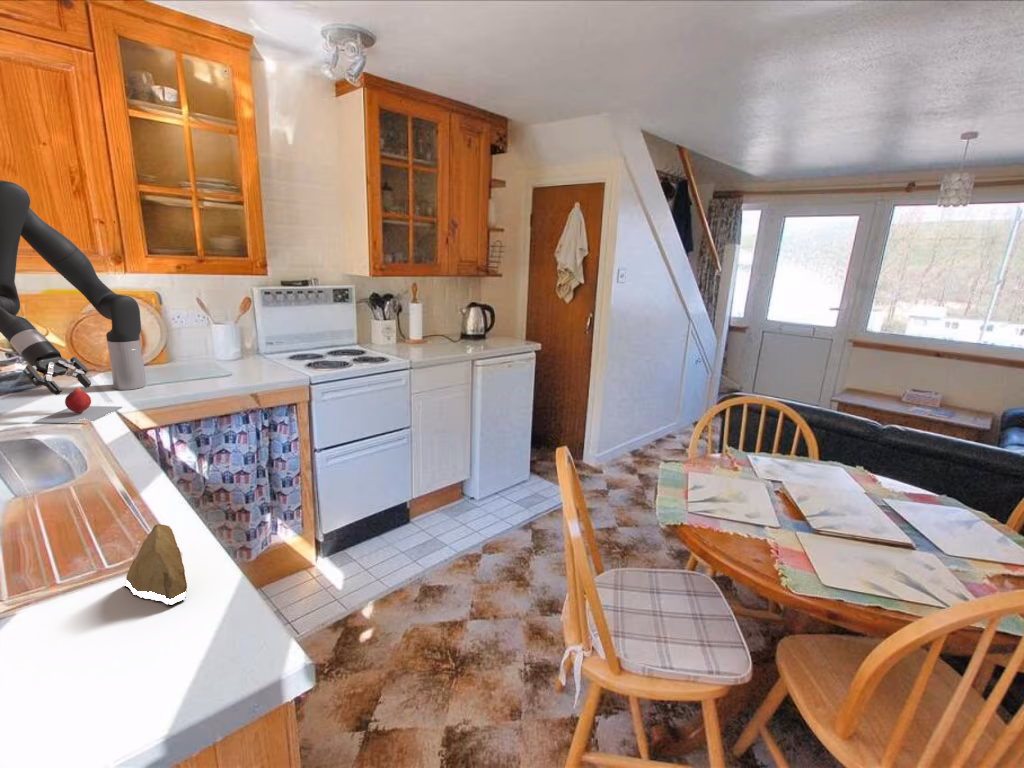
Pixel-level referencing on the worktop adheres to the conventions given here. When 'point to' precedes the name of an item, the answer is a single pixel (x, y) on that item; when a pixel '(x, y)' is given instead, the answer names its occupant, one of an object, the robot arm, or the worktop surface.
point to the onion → (78, 401)
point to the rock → (159, 564)
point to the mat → (69, 416)
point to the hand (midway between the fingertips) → (74, 389)
